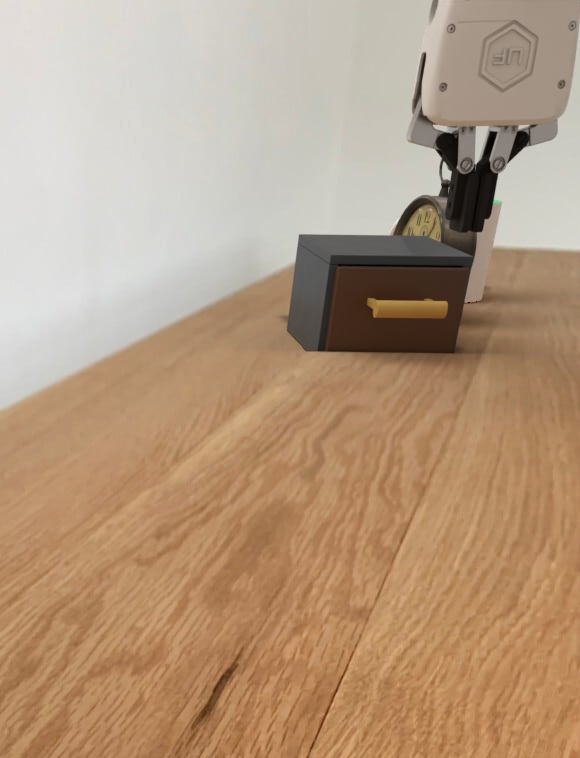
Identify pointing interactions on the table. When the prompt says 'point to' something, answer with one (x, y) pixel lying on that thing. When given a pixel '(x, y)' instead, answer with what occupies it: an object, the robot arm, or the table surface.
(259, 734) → the table surface
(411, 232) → the alarm clock
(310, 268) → the cabinet
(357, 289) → the drawer
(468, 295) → the mug
